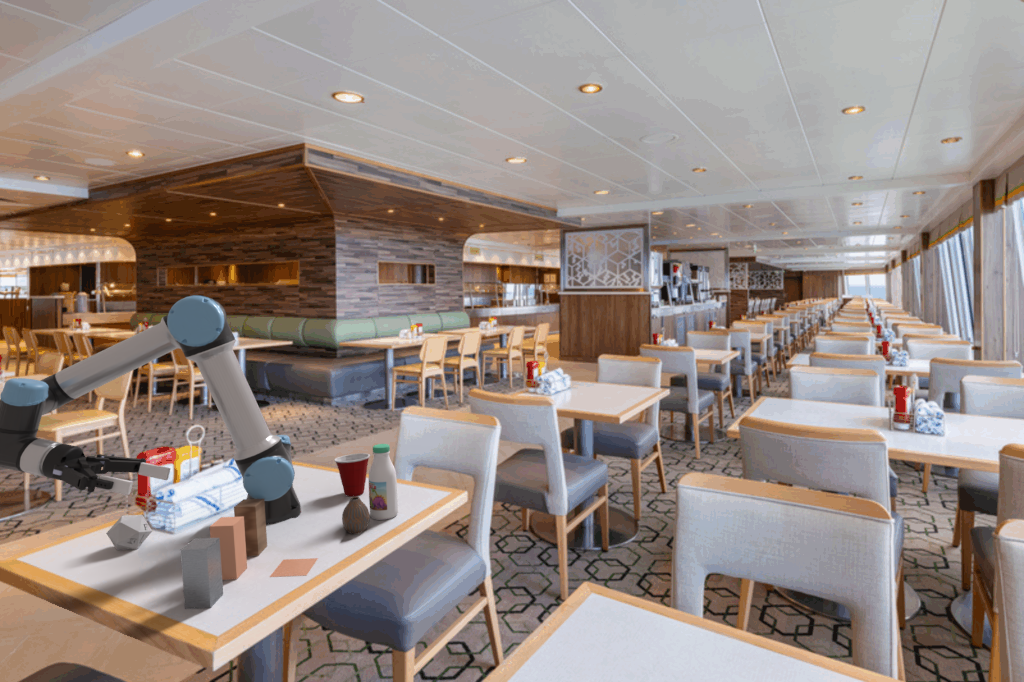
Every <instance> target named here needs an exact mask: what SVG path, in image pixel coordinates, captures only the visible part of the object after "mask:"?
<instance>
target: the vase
mask: <svg viewBox="0 0 1024 682" xmlns="http://www.w3.org/2000/svg"><path fill="white" fill-rule="evenodd" d="M341 522H342V526H343V528H344V530H345V531H346V532H347V533H349V534H351V535H352V534H353V535H355V534H360V533H362V532H364V531H365V530H366V529H367V528H368V526H369V522H370V510H369V508H368V507H367V505H366V504H365V503H364V501H362V500H361V498H360V496H353V497H350V498H349V501H348V503H347V504H346V505H345V507H344V509H343V511H342V515H341Z"/></svg>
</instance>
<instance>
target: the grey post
mask: <svg viewBox="0 0 1024 682" xmlns="http://www.w3.org/2000/svg"><path fill="white" fill-rule="evenodd" d="M180 559H181V561H180V562H181V572H182V584H183V585H182V587H183V601H184V609H185V610H186V609H188V610H189V609H211V608H212V607H213V606H214V605H215V604H216V602H218V601H219V599H220V598H222V596H223V595H224V586H223V584H224V583H223V580H222V569H221V554H220V540H219V538H210V537H202V538H201V537H200V538H194V539H192V540H191V541H190V542H189V543H187V544H186V545H184V547H182V548H181V549H180Z"/></svg>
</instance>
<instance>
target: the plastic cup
mask: <svg viewBox="0 0 1024 682" xmlns="http://www.w3.org/2000/svg"><path fill="white" fill-rule="evenodd" d="M370 457H371V454H369V453H350V454H344V455H342V456H337V457H335V458H334V459H333V460H334V462H335V464H336V466H337V469H338V473H339V477H340V480H341V481H340V482H341V485H342V489H343V493H344V495H345V496H346V497H349V498H352V497H360V496H361V495H363V494H364V492H365V489H366V488H365V486H366V482H367V481H366V480H367V472H368V463H369V459H370Z"/></svg>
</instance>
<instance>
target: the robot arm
mask: <svg viewBox="0 0 1024 682" xmlns="http://www.w3.org/2000/svg"><path fill="white" fill-rule="evenodd" d="M236 341H237V340H236V337H235V336H234V333H233V331H232V329H231V326H230V325H229V322H228V314H227V312H226V309H225V308H224V307H223V305H222V304H221V303H220V302H219V301H217V300H216V299H213V298H211V297H209V296H205V295H197V294H196V295H190V296H185V297H184V298H181V299H179V300H178V301H176V302H175V303H174V304H173V305H172V306H171V308H170V309H169V310H168V314H166V315H164V316H163V317H162V318H161V320H160V322H158V323H157V324H155V325H153V326H151V327H148V328H147V329H145V330H142V331H140V332H138V333H137V334H135V335H132V336H130V337H128V338H126V339H124V340H122V341H119V342H118V343H116V344H114V345H111V346H110V347H107V348H105V349H103V350H101V351H99V352H97V353H94V354H92V355H91V356H89V357H86V358H85V359H83V360H80V361H78V362H76V363H74V364H72V365H70V366H68V367H66V368H64V369H62V370H59V371H58V372H56V373H54V374H51V375H50V376H47V377H44V378H42V379H41V380H39V379H33V378H26V377H25V378H22V377H21V378H20V377H19V378H9V379H8V380H6V381H5V384H4V386H3V388H2V391H1V392H0V469H5V470H6V469H7V470H11V471H17V472H21V473H25V474H31V475H33V476H34V477H35V478H38V477H40V476H41V477H46V478H49V479H54V480H57V481H62V482H64V483H66V484H67V485H70V486H71V487H74V488H75V489H77V490H80V491H84V490H86V489H87V490H86V491H87V492H88V493H94V492H95V489H97V490H103V491H106V492H107V491H108V492H111V493H112V492H113V493H116V494H121V495H126V496H130V495H131V492H132V488H133V483H134V481H132V480H128V479H123V478H119V477H118V478H117V477H113V476H108V475H106V474H107V473H135V474H136V473H137V475H140V476H144V477H148V478H149V477H150V478H153V479H158V480H163V481H168V480H169V476H170V472H171V469H172V468H171V467H166V466H161V465H157V464H153V463H148V462H147V459H146V458H145V457H142V458H133V457H124V456H115V455H114V456H113V455H106V454H101V453H99V454H96V455H95V456H94V455H87V456H86V455H85V453H84V451H83V449H82V448H81V447H80V446H76V445H72V444H66V443H61V442H59V441H54V440H50V439H44V438H39V437H37V433H38V432H39V428H40V424H41V420H42V417H43V416H44V415H47V414H49V413H50V412H53V411H55V410H58V409H59V408H61V407H62V406H65V405H67V404H68V403H70V402H73V401H74V400H76V399H79V397H82V396H84V395H86V394H88V393H90V392H93V391H94V390H95V389H98V388H100V387H102V386H104V385H106V384H108V383H110V382H112V381H114V380H116V379H118V378H120V377H122V376H124V375H126V374H128V373H130V372H133V371H134V370H136V369H139V368H140V367H142V366H144V365H146V364H148V363H151V362H152V361H155V360H156V359H158V358H161V357H163V356H165V355H166V354H169V353H170V352H171V353H172V351H175V350H177V349H179V350H181V351H182V353H183V354H184V357H185V359H187V360H189V361H192V362H194V363H195V364H196V366H197V368H198V370H199V372H200V374H201V376H202V378H203V381H204V383H205V385H206V387H207V389H208V392H209V393H210V395H211V397H212V400H213V402H214V404H215V406H216V407H217V410H218V412H219V415H220V416H221V419H222V421H223V423H224V424H225V427H226V429H227V431H228V434H229V435H230V437H231V440H232V442H233V443H234V446H235V449H236V451H235V453H234V455H233V460H234V462H235V463H236V466H237V468H238V471H239V473H240V475H241V476H242V486H243V489H244V491H245V492H246V493H247V497H246V499H264V502H265V518H266V526H267V525H273V524H277V523H281V522H285V521H287V520H290V519H296V518H297V517H299V516H300V515H301V513H302V510H301V508H302V507H301V502H300V500H299V498H298V496H297V493H296V490H295V489H294V485H293V483H294V480H295V475H296V474H295V473H296V472H295V469H294V465H293V459H292V451H291V450H292V449H291V446H292V443H291V438H290V436H289V435H287V434H273V433H272V432H271V431H270V429H269V426H268V424H267V422H266V420H265V417H264V416H263V415H264V414H263V413H262V411H261V409H260V406H259V405H258V402H257V400H256V398H255V395H254V393H253V391H252V388H251V387H250V385H249V382H248V380H247V378H246V376H245V373H244V371H243V369H242V366H241V365H240V362H239V360H238V358H237V356H236V354H235V352H234V345H235V343H236ZM98 475H99V476H98Z"/></svg>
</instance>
